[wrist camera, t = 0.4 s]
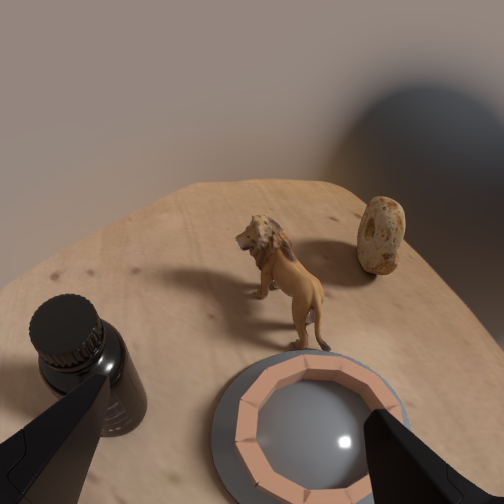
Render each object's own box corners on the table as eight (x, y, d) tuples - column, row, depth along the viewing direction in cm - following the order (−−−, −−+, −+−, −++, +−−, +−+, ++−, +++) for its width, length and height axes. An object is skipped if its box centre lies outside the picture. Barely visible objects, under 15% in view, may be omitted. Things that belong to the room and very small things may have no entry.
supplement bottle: (75, 377, 24) (22, 288, 16) (141, 367, 26) (111, 272, 19) (82, 443, 19) (10, 374, 12) (156, 433, 21) (119, 360, 14)
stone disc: (349, 240, 46) (367, 183, 40) (370, 243, 46) (390, 187, 40) (363, 287, 38) (389, 222, 32) (388, 289, 38) (416, 227, 32)
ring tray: (416, 515, 15) (432, 511, 14) (196, 524, 15) (194, 524, 14) (393, 356, 29) (403, 342, 28) (225, 343, 30) (226, 328, 28)
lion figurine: (227, 279, 37) (231, 214, 32) (261, 264, 40) (271, 203, 34) (310, 366, 28) (338, 305, 23) (345, 341, 31) (375, 279, 26)
